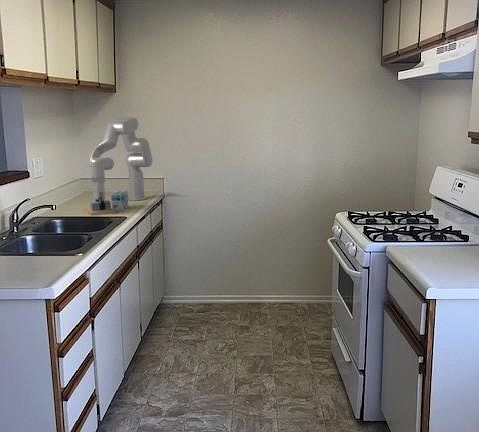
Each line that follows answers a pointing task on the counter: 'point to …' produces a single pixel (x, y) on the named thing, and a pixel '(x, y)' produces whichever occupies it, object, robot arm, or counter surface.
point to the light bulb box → (119, 200)
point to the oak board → (88, 210)
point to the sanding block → (96, 207)
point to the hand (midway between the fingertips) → (100, 208)
